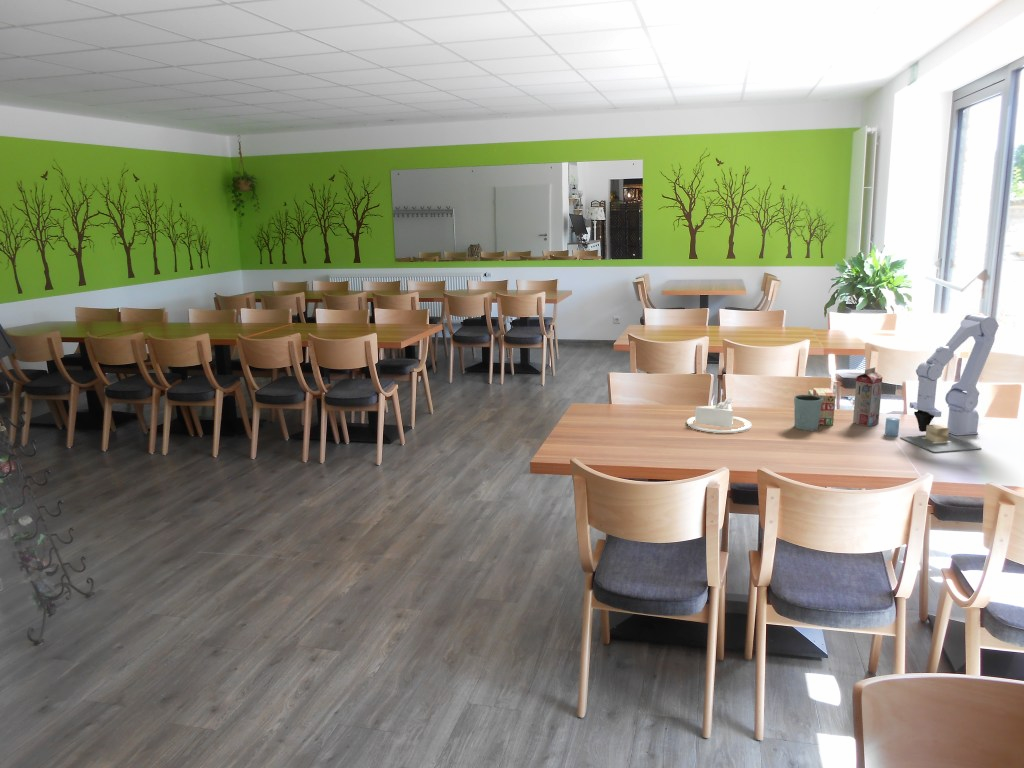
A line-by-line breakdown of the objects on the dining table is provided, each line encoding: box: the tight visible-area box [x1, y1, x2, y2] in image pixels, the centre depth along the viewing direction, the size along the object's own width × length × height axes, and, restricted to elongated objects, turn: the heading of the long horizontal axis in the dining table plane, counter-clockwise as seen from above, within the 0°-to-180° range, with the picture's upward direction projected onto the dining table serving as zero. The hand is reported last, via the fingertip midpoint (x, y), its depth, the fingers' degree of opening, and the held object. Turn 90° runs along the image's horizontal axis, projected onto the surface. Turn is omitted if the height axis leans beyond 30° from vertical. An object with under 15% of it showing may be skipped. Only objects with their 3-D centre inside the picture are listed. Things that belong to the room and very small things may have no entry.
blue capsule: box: [884, 417, 900, 437], centre depth 282 cm, size 4×4×6 cm
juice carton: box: [852, 367, 883, 427], centre depth 295 cm, size 7×7×22 cm
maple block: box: [925, 423, 950, 442], centre depth 273 cm, size 5×5×5 cm
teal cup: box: [793, 394, 822, 431], centre depth 293 cm, size 10×10×12 cm
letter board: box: [900, 434, 982, 454], centre depth 270 cm, size 18×18×1 cm
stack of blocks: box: [807, 387, 837, 426], centre depth 306 cm, size 21×6×12 cm, turn 169°
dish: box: [686, 397, 753, 434], centre depth 299 cm, size 25×25×11 cm
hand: (922, 431), depth 280 cm, fingers closed
